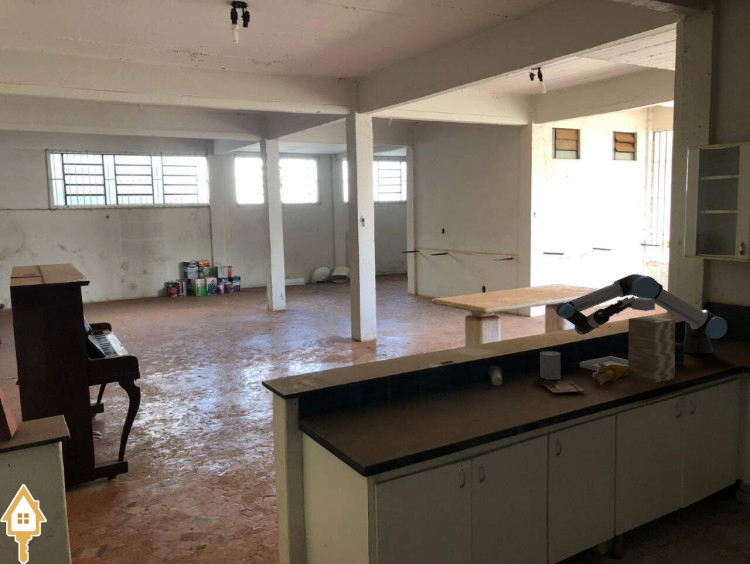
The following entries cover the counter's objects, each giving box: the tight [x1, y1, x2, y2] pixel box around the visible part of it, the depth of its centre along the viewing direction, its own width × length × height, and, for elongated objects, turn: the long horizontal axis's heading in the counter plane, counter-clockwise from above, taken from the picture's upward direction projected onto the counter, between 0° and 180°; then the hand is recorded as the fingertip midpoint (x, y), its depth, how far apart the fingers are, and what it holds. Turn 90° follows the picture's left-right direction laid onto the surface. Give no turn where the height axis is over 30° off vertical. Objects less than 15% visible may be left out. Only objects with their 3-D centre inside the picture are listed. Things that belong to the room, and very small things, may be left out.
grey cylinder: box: [539, 350, 562, 380], centre depth 289 cm, size 10×10×12 cm
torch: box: [591, 362, 629, 385], centre depth 281 cm, size 8×8×25 cm
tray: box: [579, 355, 629, 378], centre depth 302 cm, size 22×25×2 cm
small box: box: [675, 341, 685, 366], centre depth 308 cm, size 11×6×10 cm, turn 179°
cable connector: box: [616, 297, 656, 312], centre depth 288 cm, size 6×18×5 cm, turn 26°
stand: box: [628, 315, 676, 384], centre depth 282 cm, size 14×14×28 cm
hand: (631, 299), depth 290 cm, fingers closed on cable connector, 3 cm apart
